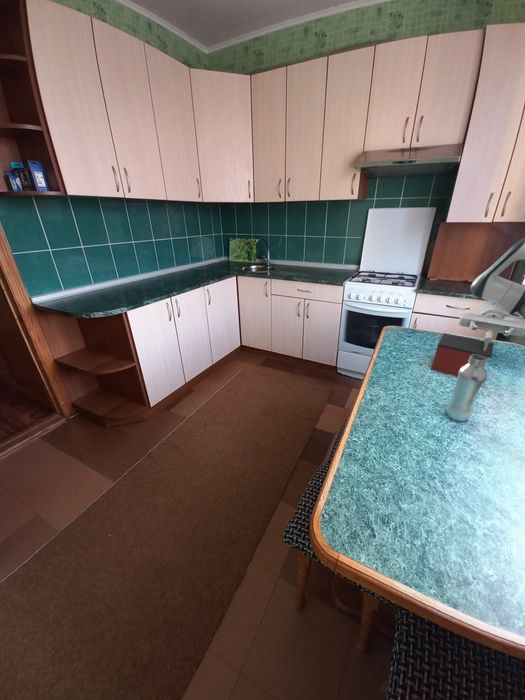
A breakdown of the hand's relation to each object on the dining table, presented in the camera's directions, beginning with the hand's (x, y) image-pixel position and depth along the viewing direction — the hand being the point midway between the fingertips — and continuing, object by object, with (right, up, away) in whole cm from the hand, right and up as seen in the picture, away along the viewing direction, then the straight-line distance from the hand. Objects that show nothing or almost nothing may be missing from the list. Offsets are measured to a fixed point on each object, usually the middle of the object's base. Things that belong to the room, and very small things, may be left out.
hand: (490, 331), depth 104 cm
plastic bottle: (-24, -27, -18) cm, 40 cm away
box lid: (-8, -5, +1) cm, 10 cm away
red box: (-8, -14, +6) cm, 17 cm away
